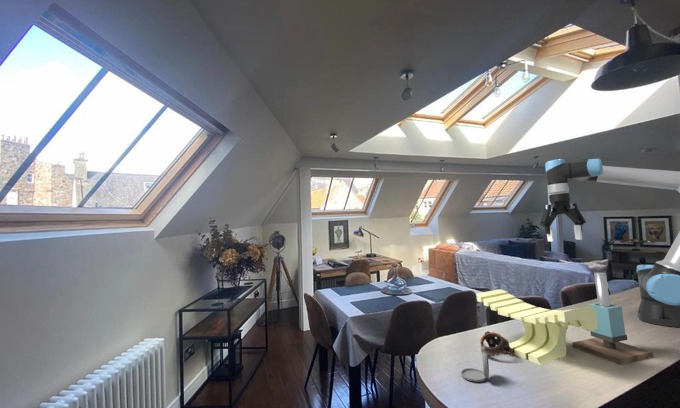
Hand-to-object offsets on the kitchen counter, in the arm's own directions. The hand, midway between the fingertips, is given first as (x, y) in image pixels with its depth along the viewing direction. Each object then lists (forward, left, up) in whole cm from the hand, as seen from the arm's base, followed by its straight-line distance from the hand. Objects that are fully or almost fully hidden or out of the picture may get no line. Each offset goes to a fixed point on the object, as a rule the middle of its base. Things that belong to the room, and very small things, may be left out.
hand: (565, 240), depth 128 cm
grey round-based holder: (+66, +38, -35) cm, 84 cm away
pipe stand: (+16, +30, -35) cm, 48 cm away
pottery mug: (+52, +24, -35) cm, 67 cm away
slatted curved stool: (+38, +25, -35) cm, 58 cm away
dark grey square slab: (+16, +30, -30) cm, 45 cm away
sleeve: (+16, +30, -29) cm, 44 cm away
